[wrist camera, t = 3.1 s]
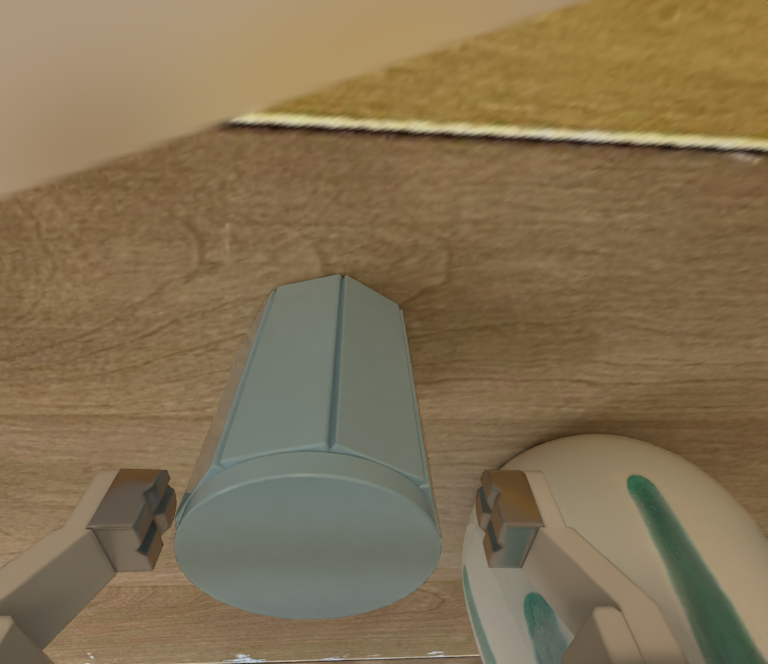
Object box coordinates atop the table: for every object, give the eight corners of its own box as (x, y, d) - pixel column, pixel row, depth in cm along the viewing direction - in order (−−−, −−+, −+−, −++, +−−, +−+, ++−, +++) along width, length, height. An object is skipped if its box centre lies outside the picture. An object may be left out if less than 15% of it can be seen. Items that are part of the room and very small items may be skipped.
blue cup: (226, 295, 15) (117, 503, 8) (393, 262, 14) (422, 452, 8) (280, 415, 18) (235, 634, 11) (418, 390, 18) (454, 602, 11)
